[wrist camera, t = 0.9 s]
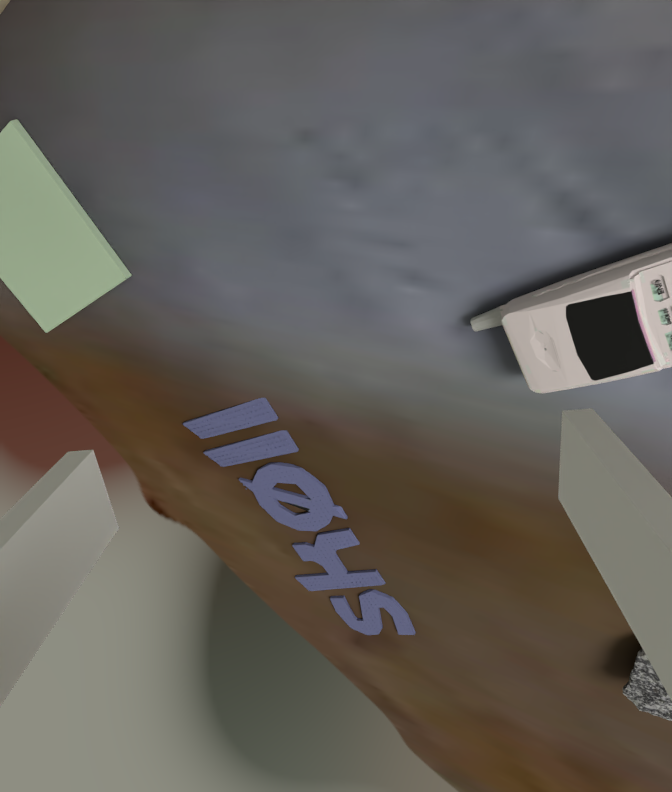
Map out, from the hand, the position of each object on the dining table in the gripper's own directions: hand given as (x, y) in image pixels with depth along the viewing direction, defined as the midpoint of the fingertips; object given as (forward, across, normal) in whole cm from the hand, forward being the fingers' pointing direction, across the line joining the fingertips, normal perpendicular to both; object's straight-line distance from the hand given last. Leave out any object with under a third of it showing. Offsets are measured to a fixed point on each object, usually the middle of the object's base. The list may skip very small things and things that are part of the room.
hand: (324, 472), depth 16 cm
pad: (+29, -24, +5) cm, 38 cm away
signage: (+28, -6, -23) cm, 37 cm away
